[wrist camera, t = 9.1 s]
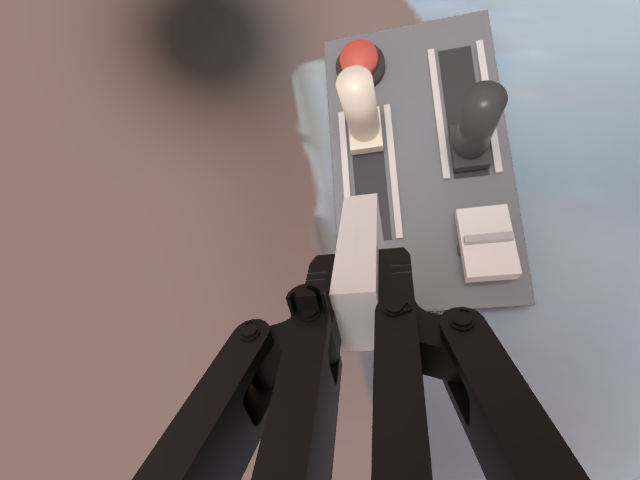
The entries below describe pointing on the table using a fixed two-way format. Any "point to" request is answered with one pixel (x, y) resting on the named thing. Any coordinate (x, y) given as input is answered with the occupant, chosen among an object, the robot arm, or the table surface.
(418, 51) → the panel
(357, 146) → the cream tapered knob
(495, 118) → the black lever
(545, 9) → the table surface
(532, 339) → the table surface
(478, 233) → the rocker
